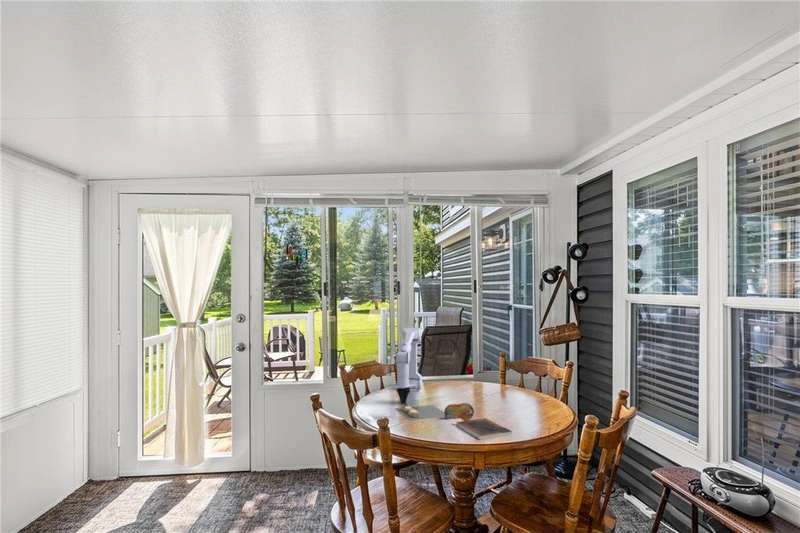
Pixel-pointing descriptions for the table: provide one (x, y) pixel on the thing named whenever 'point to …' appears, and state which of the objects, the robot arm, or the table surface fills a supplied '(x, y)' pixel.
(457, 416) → the tin
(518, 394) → the table surface
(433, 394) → the table surface
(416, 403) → the keeper
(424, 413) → the board
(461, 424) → the picture frame
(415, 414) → the link
